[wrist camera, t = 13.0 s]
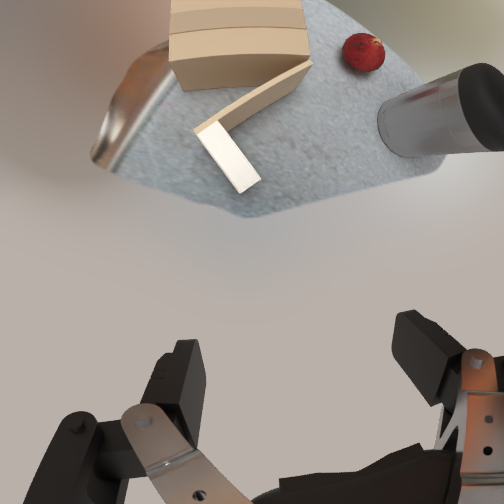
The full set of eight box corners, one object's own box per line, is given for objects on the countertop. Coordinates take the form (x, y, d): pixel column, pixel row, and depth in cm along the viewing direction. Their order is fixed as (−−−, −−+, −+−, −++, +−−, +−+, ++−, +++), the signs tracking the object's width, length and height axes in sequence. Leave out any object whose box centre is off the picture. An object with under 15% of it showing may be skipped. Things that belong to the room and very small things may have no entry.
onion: (338, 76, 32) (361, 54, 25) (332, 43, 31) (352, 18, 23) (373, 80, 33) (401, 63, 25) (367, 48, 31) (391, 27, 24)
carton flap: (291, 86, 32) (309, 59, 23) (325, 132, 34) (353, 118, 25) (202, 144, 33) (192, 130, 24) (237, 192, 35) (240, 193, 26)
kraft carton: (283, 28, 30) (298, -12, 20) (290, 86, 32) (310, 54, 22) (183, 32, 29) (171, -7, 19) (183, 91, 32) (168, 60, 22)
